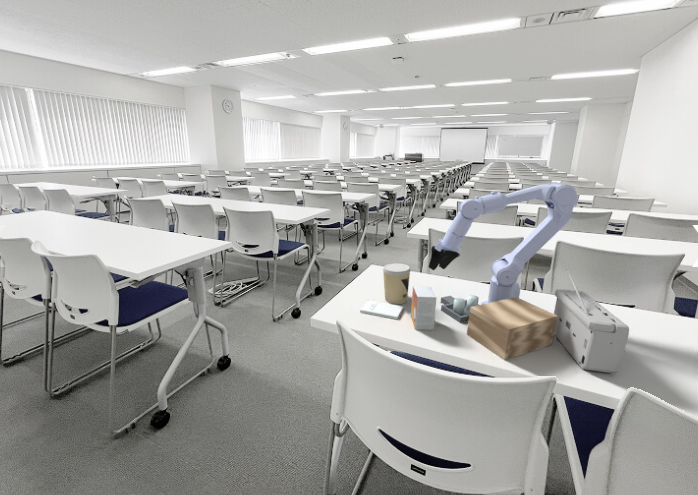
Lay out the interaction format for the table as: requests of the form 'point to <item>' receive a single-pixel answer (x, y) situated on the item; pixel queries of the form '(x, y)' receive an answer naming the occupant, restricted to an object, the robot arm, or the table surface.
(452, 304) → the tray
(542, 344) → the wood grain block
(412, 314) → the small box
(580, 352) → the stereo radio cassette player
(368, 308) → the external hard drive
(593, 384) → the table surface
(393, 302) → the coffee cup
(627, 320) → the table surface
